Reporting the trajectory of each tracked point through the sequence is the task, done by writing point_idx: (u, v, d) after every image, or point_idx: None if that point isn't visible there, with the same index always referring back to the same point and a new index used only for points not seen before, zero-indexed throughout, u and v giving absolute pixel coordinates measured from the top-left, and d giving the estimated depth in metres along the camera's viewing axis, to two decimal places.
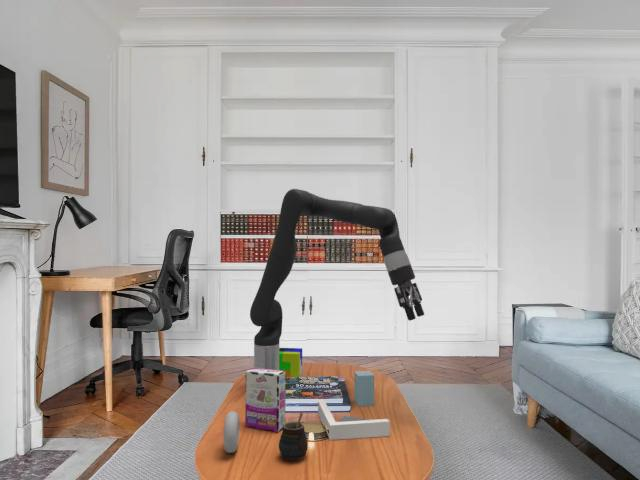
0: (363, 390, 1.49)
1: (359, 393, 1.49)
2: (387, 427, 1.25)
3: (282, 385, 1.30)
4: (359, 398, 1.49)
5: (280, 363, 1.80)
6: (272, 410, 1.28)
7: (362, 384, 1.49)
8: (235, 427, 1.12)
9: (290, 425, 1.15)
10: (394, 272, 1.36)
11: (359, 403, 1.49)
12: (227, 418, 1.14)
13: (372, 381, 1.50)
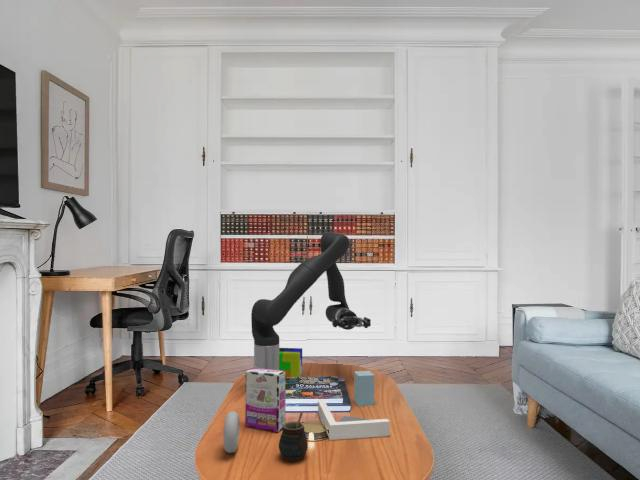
0: (363, 390, 1.49)
1: (359, 393, 1.49)
2: (387, 427, 1.25)
3: (282, 385, 1.30)
4: (359, 398, 1.49)
5: (280, 363, 1.80)
6: (272, 410, 1.28)
7: (362, 384, 1.49)
8: (235, 427, 1.12)
9: (290, 425, 1.15)
10: None
11: (359, 403, 1.49)
12: (227, 418, 1.14)
13: (372, 381, 1.50)
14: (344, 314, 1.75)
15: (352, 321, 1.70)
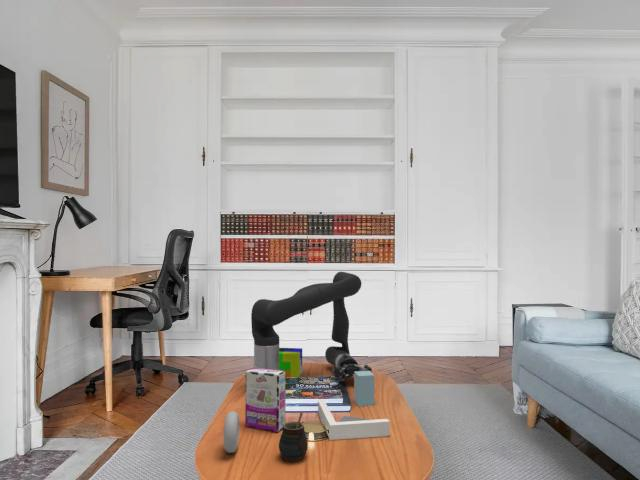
0: (363, 390, 1.49)
1: (359, 393, 1.49)
2: (387, 427, 1.25)
3: (282, 385, 1.30)
4: (359, 398, 1.49)
5: (280, 363, 1.80)
6: (272, 410, 1.28)
7: (362, 384, 1.49)
8: (235, 427, 1.12)
9: (290, 425, 1.15)
10: None
11: (359, 403, 1.49)
12: (227, 418, 1.14)
13: (372, 381, 1.50)
14: (345, 361, 1.73)
15: (353, 370, 1.69)
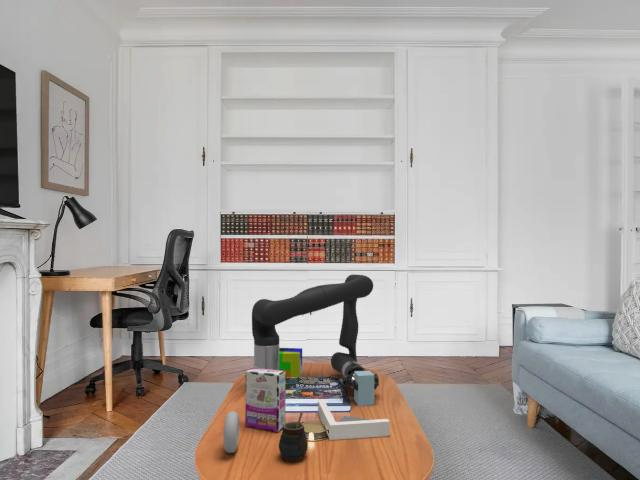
0: (363, 390, 1.49)
1: (359, 393, 1.49)
2: (387, 427, 1.25)
3: (282, 385, 1.30)
4: (359, 398, 1.49)
5: (280, 363, 1.80)
6: (272, 410, 1.28)
7: (362, 384, 1.49)
8: (235, 427, 1.12)
9: (290, 425, 1.15)
10: None
11: (359, 403, 1.49)
12: (227, 418, 1.14)
13: (372, 381, 1.50)
14: (352, 370, 1.61)
15: None
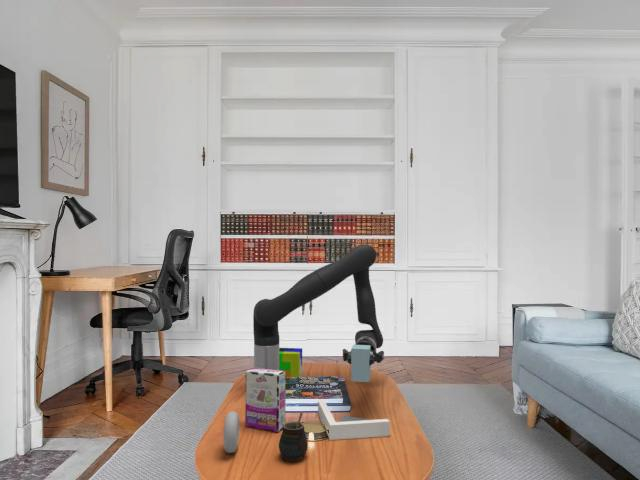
0: (357, 364, 1.38)
1: (352, 367, 1.38)
2: (387, 427, 1.25)
3: (282, 385, 1.30)
4: (352, 372, 1.38)
5: (280, 363, 1.80)
6: (272, 410, 1.28)
7: (355, 358, 1.38)
8: (235, 427, 1.12)
9: (290, 425, 1.15)
10: (375, 348, 1.52)
11: (352, 378, 1.38)
12: (227, 418, 1.14)
13: (367, 356, 1.37)
14: None
15: None
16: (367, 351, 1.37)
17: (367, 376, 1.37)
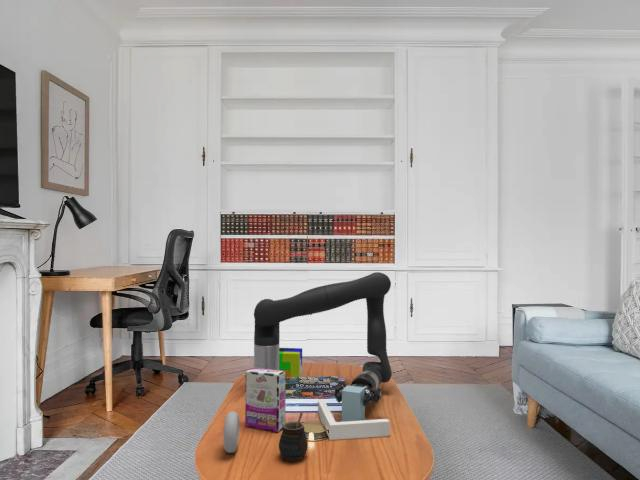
0: (347, 407, 1.32)
1: (343, 410, 1.32)
2: (387, 427, 1.25)
3: (282, 385, 1.30)
4: (343, 416, 1.32)
5: (280, 363, 1.80)
6: (272, 410, 1.28)
7: (346, 401, 1.32)
8: (235, 427, 1.12)
9: (290, 425, 1.15)
10: (375, 385, 1.45)
11: (343, 421, 1.32)
12: (227, 418, 1.14)
13: (357, 399, 1.31)
14: (356, 381, 1.44)
15: None
16: (358, 395, 1.31)
17: None
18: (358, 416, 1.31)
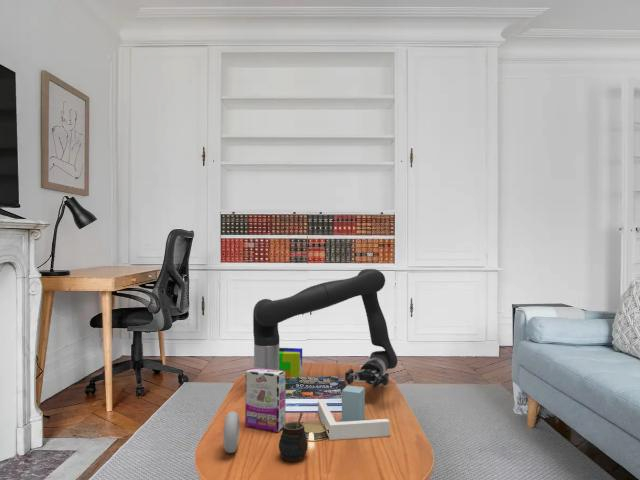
0: (347, 407, 1.32)
1: (343, 410, 1.32)
2: (387, 427, 1.25)
3: (282, 385, 1.30)
4: (343, 416, 1.32)
5: (280, 363, 1.80)
6: (272, 410, 1.28)
7: (346, 401, 1.32)
8: (235, 427, 1.12)
9: (290, 425, 1.15)
10: (383, 370, 1.58)
11: (343, 421, 1.32)
12: (227, 418, 1.14)
13: (357, 399, 1.31)
14: (365, 366, 1.56)
15: (367, 376, 1.51)
16: (358, 395, 1.31)
17: None
18: (358, 416, 1.31)
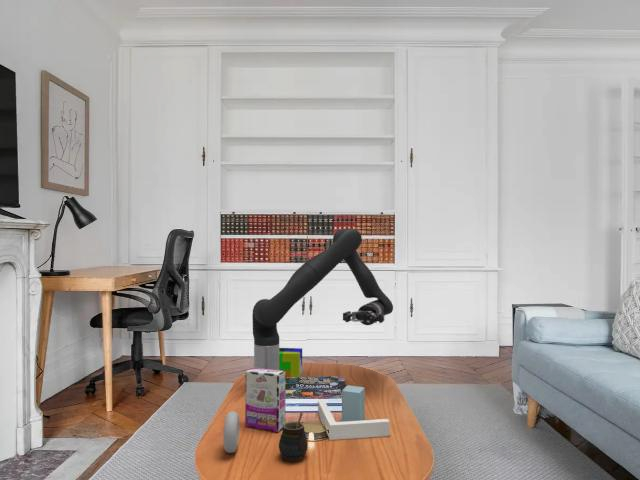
0: (347, 407, 1.32)
1: (343, 410, 1.32)
2: (387, 427, 1.25)
3: (282, 385, 1.30)
4: (343, 416, 1.32)
5: (280, 363, 1.80)
6: (272, 410, 1.28)
7: (346, 401, 1.32)
8: (235, 427, 1.12)
9: (290, 425, 1.15)
10: (378, 313, 1.65)
11: (343, 421, 1.32)
12: (227, 418, 1.14)
13: (357, 399, 1.31)
14: (362, 308, 1.64)
15: (364, 316, 1.58)
16: (358, 395, 1.31)
17: None
18: (358, 416, 1.31)
